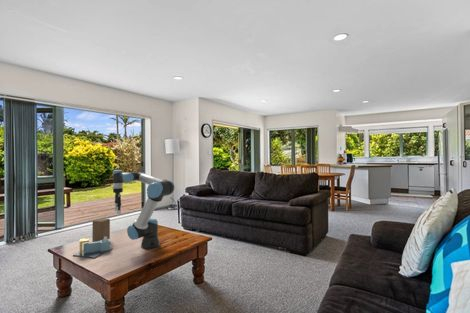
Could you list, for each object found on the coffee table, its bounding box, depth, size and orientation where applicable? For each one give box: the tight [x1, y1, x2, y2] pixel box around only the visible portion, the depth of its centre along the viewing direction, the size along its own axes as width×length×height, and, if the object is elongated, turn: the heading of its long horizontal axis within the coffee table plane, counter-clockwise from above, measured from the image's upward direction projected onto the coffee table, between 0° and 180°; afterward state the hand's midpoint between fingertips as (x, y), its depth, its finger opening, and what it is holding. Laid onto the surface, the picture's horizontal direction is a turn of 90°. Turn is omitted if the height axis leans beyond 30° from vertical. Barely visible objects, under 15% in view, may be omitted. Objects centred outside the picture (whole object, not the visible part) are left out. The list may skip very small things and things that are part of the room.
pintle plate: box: [72, 237, 113, 259], centre depth 197 cm, size 20×20×11 cm
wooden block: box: [91, 218, 111, 242], centre depth 221 cm, size 10×10×20 cm
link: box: [82, 239, 111, 254], centre depth 198 cm, size 18×7×7 cm, turn 122°
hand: (117, 212), depth 213 cm, fingers open, 13 cm apart
